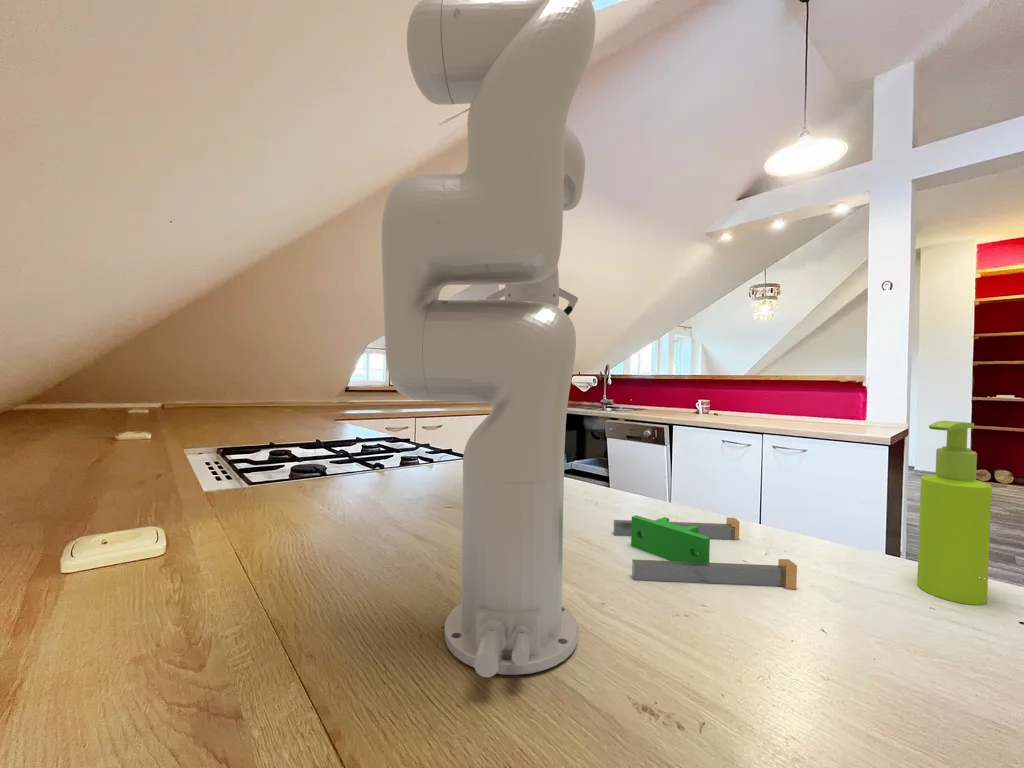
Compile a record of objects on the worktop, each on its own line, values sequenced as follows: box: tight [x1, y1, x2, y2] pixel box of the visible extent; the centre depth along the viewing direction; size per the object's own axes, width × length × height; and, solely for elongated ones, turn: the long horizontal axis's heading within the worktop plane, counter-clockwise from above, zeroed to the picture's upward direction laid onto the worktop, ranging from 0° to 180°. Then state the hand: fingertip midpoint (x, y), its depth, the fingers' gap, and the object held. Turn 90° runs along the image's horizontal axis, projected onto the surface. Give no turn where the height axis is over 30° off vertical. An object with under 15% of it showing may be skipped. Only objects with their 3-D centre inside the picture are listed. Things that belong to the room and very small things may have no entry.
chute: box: [613, 517, 798, 590], centre depth 63 cm, size 18×19×3 cm
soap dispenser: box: [916, 420, 993, 606], centre depth 53 cm, size 6×7×20 cm
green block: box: [630, 515, 711, 563], centre depth 63 cm, size 11×4×5 cm, turn 39°
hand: (531, 341), depth 87 cm, fingers open, 9 cm apart
